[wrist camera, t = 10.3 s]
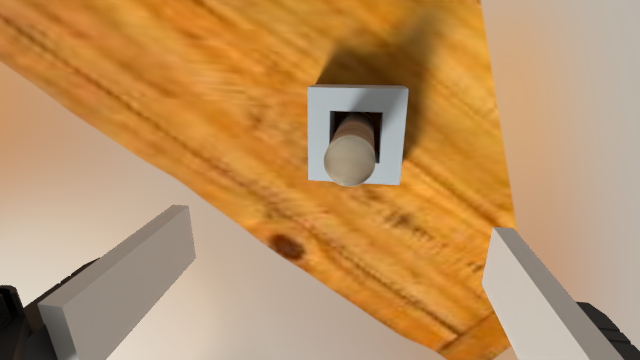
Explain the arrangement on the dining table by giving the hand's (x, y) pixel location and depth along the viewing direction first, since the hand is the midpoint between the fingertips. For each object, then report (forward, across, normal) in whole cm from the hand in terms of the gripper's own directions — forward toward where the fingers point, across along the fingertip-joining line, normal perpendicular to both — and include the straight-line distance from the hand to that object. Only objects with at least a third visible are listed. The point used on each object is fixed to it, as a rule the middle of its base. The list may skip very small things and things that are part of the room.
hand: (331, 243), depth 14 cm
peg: (+27, 0, 0) cm, 27 cm away
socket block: (+27, 0, 0) cm, 27 cm away
